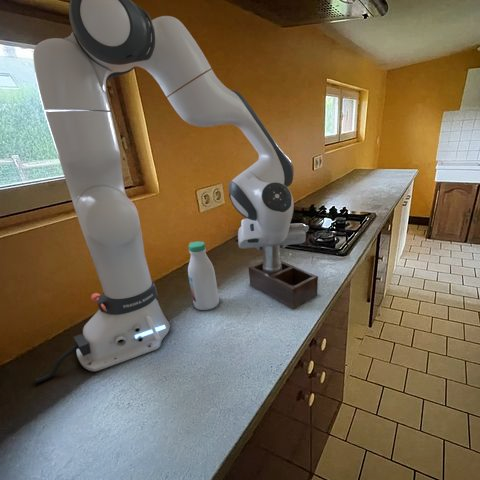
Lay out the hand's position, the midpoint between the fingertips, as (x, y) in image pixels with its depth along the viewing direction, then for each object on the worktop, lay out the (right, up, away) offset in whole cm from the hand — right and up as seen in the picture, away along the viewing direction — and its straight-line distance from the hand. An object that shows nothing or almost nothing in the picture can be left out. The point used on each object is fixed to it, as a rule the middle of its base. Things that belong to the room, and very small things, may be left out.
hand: (270, 247), depth 96 cm
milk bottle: (-20, -18, -3) cm, 27 cm away
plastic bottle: (+1, -10, +5) cm, 11 cm away
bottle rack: (+4, -14, +3) cm, 15 cm away
